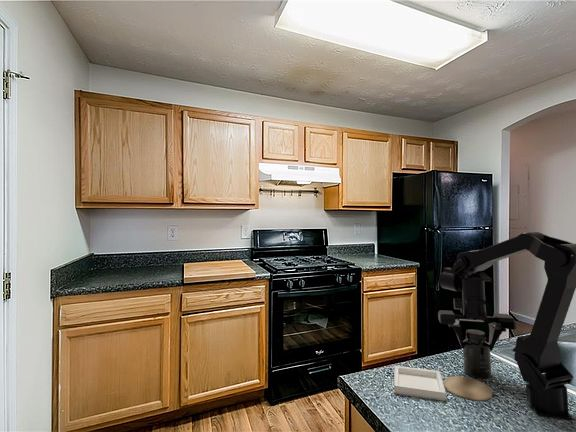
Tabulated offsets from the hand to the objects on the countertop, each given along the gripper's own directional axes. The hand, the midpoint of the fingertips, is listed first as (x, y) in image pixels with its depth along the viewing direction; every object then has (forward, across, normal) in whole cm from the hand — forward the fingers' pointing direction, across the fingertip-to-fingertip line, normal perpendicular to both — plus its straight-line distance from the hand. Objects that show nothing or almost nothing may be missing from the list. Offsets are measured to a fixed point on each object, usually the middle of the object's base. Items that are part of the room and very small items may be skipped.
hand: (476, 349), depth 88 cm
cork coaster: (+7, +4, +10) cm, 13 cm away
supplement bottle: (+7, 0, 0) cm, 7 cm away
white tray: (+7, +16, +12) cm, 22 cm away
